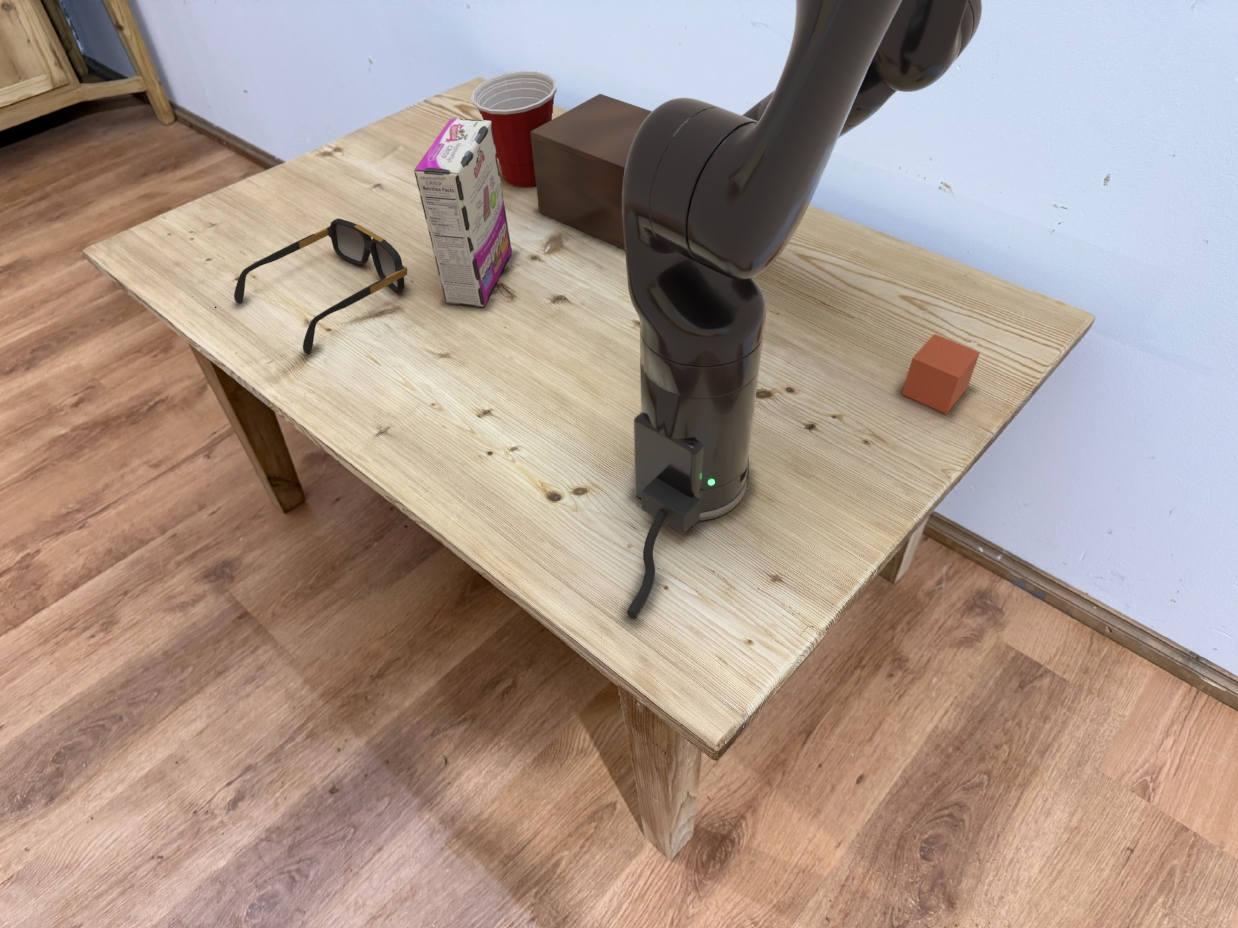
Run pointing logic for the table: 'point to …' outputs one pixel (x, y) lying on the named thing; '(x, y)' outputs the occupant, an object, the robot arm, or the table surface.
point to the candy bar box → (465, 210)
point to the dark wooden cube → (586, 165)
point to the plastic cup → (516, 118)
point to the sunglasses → (353, 248)
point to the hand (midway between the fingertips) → (692, 196)
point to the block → (940, 373)
